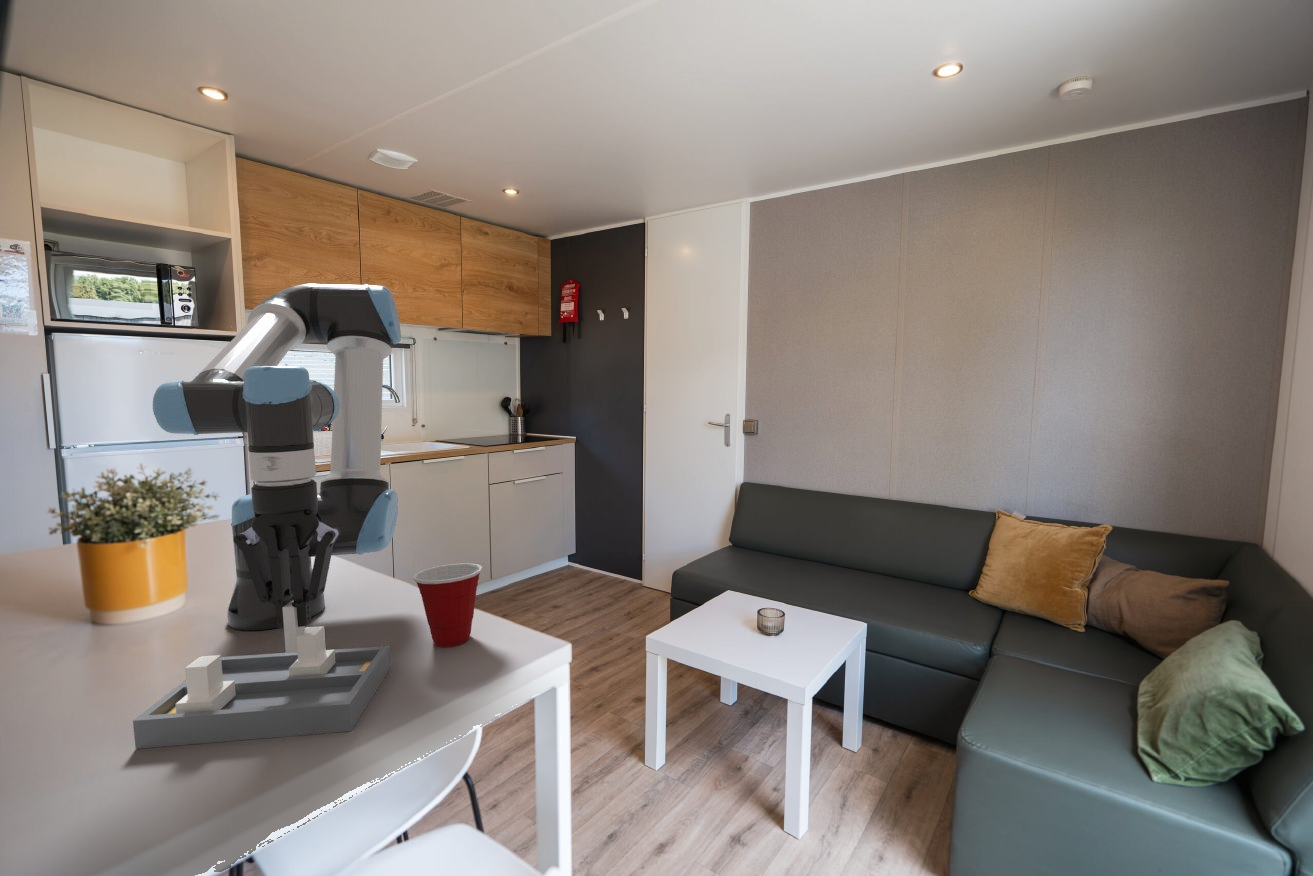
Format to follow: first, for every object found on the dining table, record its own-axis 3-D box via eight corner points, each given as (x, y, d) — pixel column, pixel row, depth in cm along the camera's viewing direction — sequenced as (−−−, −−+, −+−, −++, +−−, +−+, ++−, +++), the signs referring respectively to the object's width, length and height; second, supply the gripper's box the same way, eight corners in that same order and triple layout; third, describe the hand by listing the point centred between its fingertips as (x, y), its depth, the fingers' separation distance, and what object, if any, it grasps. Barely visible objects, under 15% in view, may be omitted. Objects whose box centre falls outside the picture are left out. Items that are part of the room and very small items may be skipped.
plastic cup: (467, 620, 107) (465, 555, 105) (496, 640, 99) (494, 569, 98) (406, 638, 99) (402, 569, 98) (431, 661, 92) (428, 585, 90)
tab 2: (306, 664, 86) (303, 624, 85) (335, 662, 86) (332, 622, 86) (289, 682, 81) (286, 639, 80) (321, 680, 81) (318, 638, 81)
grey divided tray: (216, 680, 86) (213, 657, 86) (390, 668, 89) (389, 646, 89) (135, 749, 70) (132, 720, 70) (351, 731, 74) (349, 704, 73)
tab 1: (202, 697, 77) (198, 653, 77) (235, 695, 78) (232, 651, 77) (176, 719, 72) (172, 672, 72) (212, 716, 73) (208, 669, 72)
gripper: (215, 487, 76) (229, 664, 78) (323, 484, 78) (334, 658, 80) (247, 477, 83) (260, 639, 86) (346, 475, 85) (355, 634, 87)
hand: (296, 648), depth 83 cm, fingers closed
